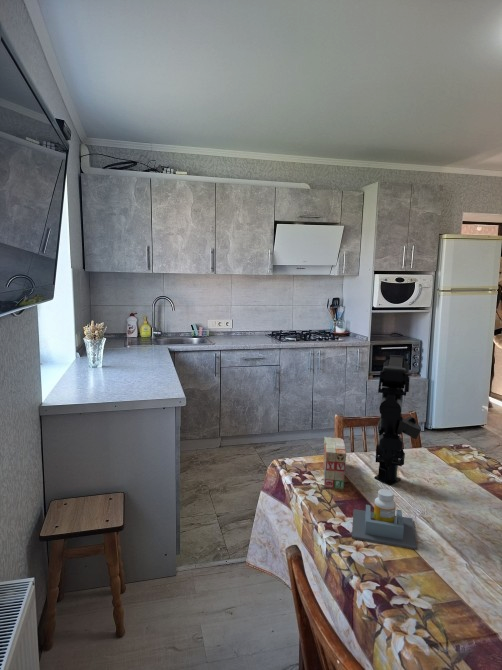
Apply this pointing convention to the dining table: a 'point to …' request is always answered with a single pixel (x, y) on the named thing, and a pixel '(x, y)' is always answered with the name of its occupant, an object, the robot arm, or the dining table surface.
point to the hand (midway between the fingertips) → (387, 460)
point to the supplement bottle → (384, 506)
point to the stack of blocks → (334, 462)
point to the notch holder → (383, 529)
